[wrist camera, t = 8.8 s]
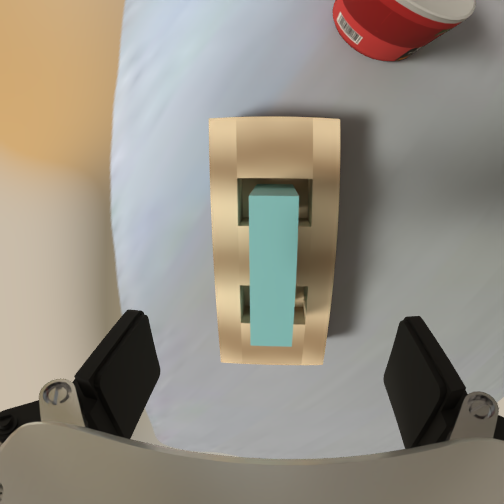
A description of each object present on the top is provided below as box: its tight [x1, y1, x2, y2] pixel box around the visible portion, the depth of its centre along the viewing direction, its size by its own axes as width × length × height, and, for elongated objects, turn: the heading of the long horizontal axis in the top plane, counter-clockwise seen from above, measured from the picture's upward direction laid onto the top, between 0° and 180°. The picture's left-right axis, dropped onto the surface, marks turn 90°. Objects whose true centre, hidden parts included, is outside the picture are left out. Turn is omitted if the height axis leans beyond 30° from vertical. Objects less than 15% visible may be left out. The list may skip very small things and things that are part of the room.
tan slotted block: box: [209, 117, 340, 365], centre depth 24 cm, size 20×9×4 cm, turn 0°
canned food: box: [333, 0, 476, 61], centre depth 13 cm, size 8×8×11 cm
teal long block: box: [249, 184, 299, 347], centre depth 21 cm, size 10×3×7 cm, turn 0°
